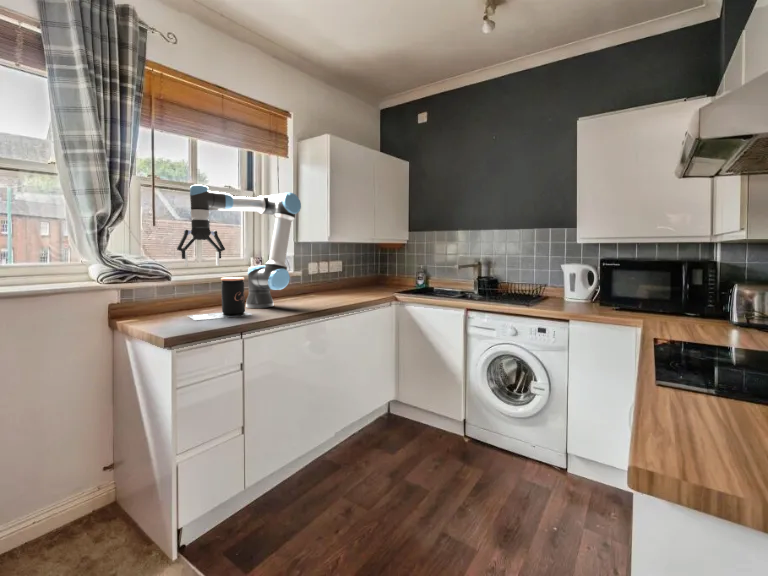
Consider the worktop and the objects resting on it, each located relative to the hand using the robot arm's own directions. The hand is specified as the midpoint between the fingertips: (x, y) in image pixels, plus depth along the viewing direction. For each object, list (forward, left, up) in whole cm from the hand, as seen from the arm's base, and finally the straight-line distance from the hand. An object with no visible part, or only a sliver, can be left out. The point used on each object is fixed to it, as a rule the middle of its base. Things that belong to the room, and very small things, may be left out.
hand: (202, 266), depth 180 cm
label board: (-8, -4, -25) cm, 26 cm away
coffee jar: (-15, -4, -25) cm, 29 cm away
